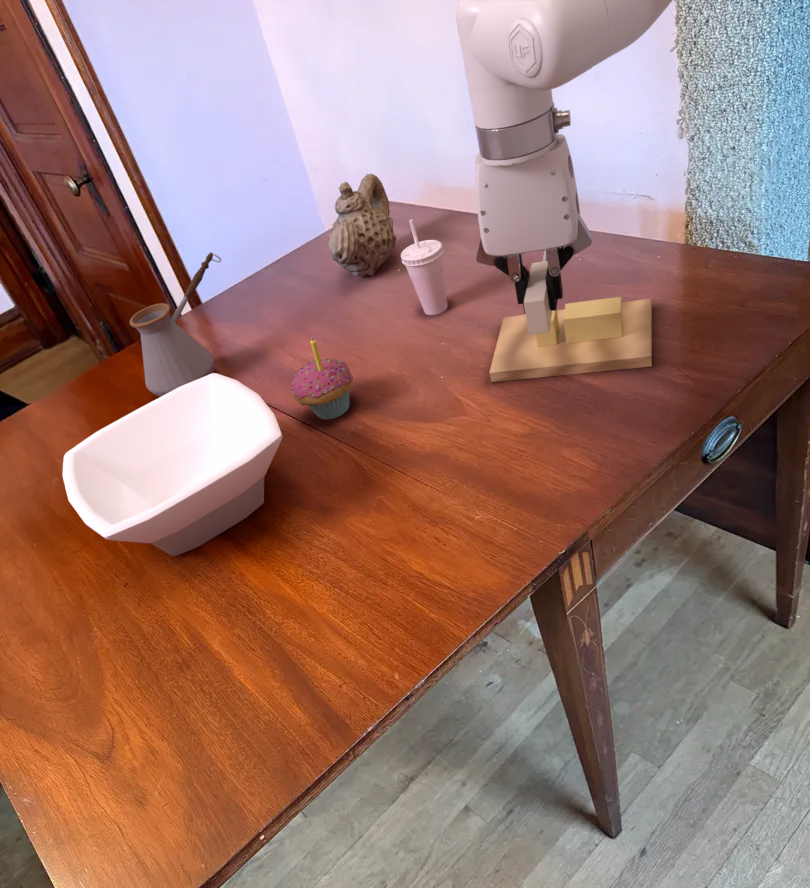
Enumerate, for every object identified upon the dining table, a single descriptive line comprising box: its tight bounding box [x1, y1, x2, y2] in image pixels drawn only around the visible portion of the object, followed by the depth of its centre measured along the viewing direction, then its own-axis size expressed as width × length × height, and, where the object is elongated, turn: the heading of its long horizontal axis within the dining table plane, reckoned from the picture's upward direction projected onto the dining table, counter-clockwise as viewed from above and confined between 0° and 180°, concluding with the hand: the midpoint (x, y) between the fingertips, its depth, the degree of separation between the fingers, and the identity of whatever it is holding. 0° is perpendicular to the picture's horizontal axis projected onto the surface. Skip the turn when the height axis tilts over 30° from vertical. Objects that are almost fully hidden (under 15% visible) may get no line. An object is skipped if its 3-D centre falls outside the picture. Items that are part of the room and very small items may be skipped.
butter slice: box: [536, 307, 559, 347], centre depth 98 cm, size 2×4×4 cm, turn 166°
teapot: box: [327, 173, 397, 278], centre depth 130 cm, size 21×12×15 cm, turn 159°
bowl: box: [61, 372, 284, 557], centre depth 91 cm, size 24×25×10 cm
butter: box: [563, 296, 623, 343], centre depth 96 cm, size 7×4×4 cm, turn 76°
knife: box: [523, 250, 552, 335], centre depth 87 cm, size 19×2×4 cm, turn 166°
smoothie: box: [400, 218, 449, 316], centre depth 112 cm, size 6×6×14 cm
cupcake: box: [289, 335, 354, 421], centre depth 99 cm, size 9×8×12 cm
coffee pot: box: [129, 252, 222, 398], centre depth 117 cm, size 21×12×15 cm, turn 145°
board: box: [488, 298, 653, 383], centre depth 99 cm, size 20×14×2 cm
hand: (541, 305), depth 85 cm, fingers closed on knife, 2 cm apart
